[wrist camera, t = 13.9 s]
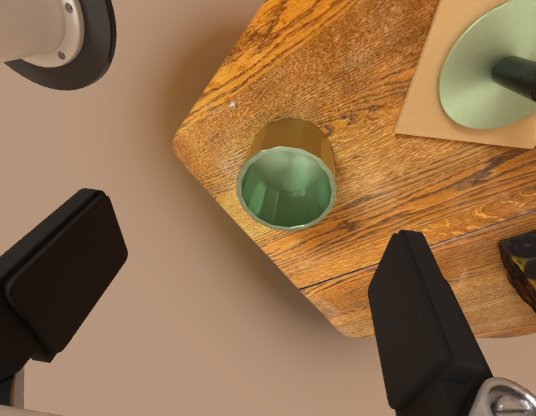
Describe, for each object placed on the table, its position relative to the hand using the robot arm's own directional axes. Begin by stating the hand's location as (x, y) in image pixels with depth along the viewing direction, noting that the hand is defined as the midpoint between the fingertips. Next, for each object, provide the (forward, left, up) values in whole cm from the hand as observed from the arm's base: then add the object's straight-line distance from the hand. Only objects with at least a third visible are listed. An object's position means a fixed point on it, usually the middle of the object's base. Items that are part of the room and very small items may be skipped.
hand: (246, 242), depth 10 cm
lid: (+21, +2, -27) cm, 34 cm away
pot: (+1, -11, -28) cm, 30 cm away
